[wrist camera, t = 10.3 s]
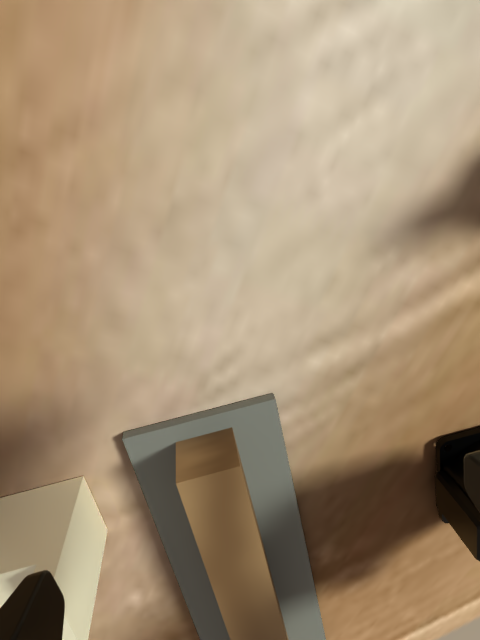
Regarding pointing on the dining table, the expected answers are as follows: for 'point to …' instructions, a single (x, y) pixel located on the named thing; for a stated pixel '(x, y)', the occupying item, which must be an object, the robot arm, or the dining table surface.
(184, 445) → the rail
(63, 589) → the post
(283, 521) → the mat
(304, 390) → the dining table surface
